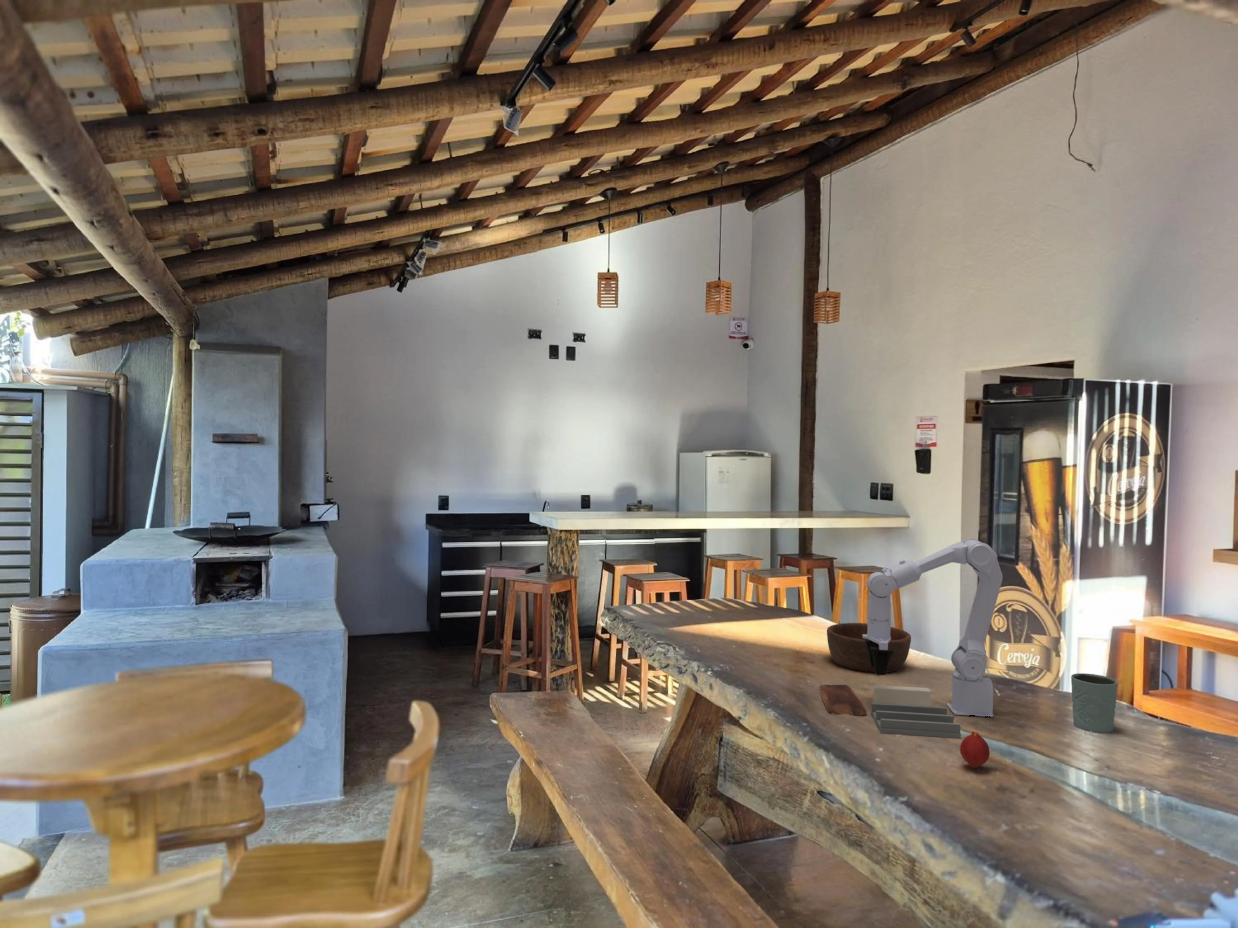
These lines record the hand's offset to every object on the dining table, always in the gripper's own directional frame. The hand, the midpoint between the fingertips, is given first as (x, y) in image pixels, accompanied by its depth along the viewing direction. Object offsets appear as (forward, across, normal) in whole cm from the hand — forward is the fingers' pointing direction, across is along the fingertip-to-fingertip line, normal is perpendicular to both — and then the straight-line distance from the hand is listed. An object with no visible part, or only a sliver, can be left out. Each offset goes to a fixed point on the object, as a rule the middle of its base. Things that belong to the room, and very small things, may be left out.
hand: (877, 670), depth 218 cm
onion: (+9, +40, +13) cm, 43 cm away
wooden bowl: (+10, -42, +4) cm, 43 cm away
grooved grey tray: (+9, +14, +6) cm, 18 cm away
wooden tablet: (+10, -4, -9) cm, 14 cm away
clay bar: (+9, 0, +6) cm, 11 cm away
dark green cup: (+10, +6, +50) cm, 52 cm away
